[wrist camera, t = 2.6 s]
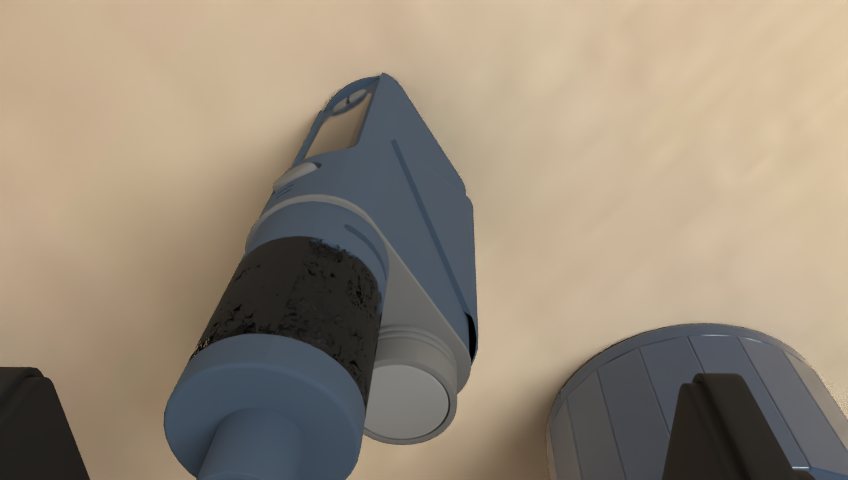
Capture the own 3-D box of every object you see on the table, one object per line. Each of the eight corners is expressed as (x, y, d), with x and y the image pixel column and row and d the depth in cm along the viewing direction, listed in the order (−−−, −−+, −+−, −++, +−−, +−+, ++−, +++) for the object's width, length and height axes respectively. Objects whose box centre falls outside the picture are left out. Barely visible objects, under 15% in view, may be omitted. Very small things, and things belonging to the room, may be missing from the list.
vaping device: (383, 47, 17) (260, 381, 6) (487, 211, 19) (524, 661, 8) (299, 99, 17) (67, 475, 7) (409, 251, 20) (354, 708, 9)
